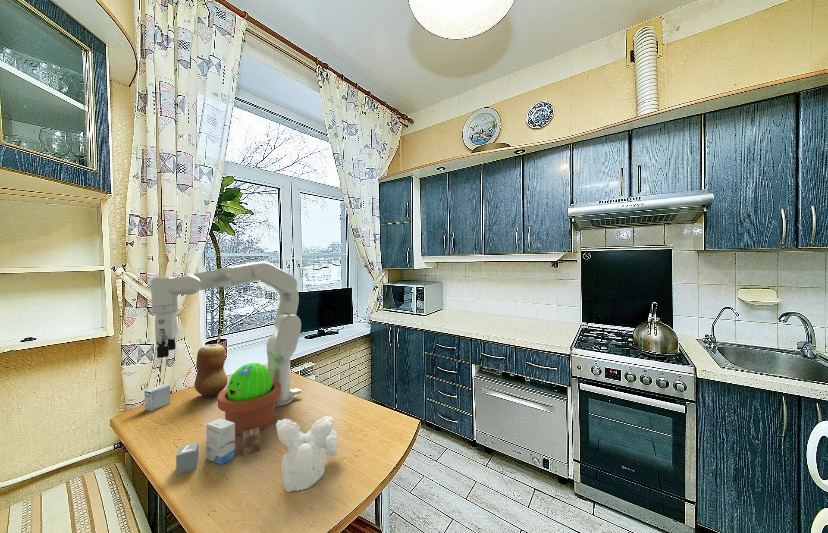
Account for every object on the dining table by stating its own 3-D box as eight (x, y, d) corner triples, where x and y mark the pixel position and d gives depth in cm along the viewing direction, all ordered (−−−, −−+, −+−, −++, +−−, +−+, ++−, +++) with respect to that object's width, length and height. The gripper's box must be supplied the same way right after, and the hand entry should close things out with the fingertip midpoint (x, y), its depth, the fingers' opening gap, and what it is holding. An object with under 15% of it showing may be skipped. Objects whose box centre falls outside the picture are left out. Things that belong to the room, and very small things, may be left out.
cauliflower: (268, 479, 77) (277, 408, 93) (271, 511, 87) (279, 442, 103) (342, 466, 83) (339, 402, 99) (336, 497, 93) (334, 434, 109)
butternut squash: (232, 393, 147) (231, 344, 146) (201, 404, 136) (200, 351, 135) (219, 387, 154) (218, 340, 154) (188, 397, 143) (187, 346, 142)
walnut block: (259, 443, 107) (259, 426, 107) (259, 450, 103) (259, 433, 103) (243, 447, 105) (243, 430, 105) (243, 455, 100) (242, 437, 100)
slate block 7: (198, 459, 98) (198, 441, 98) (196, 468, 94) (195, 450, 94) (179, 464, 96) (179, 446, 96) (176, 474, 91) (176, 455, 91)
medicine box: (163, 402, 139) (163, 383, 138) (170, 403, 137) (170, 384, 137) (144, 410, 131) (143, 391, 131) (151, 411, 130) (151, 392, 130)
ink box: (236, 456, 100) (236, 422, 100) (221, 465, 95) (220, 429, 95) (220, 449, 103) (220, 416, 103) (205, 458, 99) (204, 423, 99)
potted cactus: (255, 405, 135) (254, 351, 134) (292, 415, 126) (291, 357, 126) (205, 431, 114) (204, 368, 114) (245, 445, 106) (244, 376, 105)
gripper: (171, 311, 106) (173, 358, 107) (182, 305, 122) (184, 346, 122) (144, 313, 103) (146, 362, 103) (159, 306, 118) (160, 348, 119)
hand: (166, 353), depth 113 cm, fingers open, 9 cm apart
